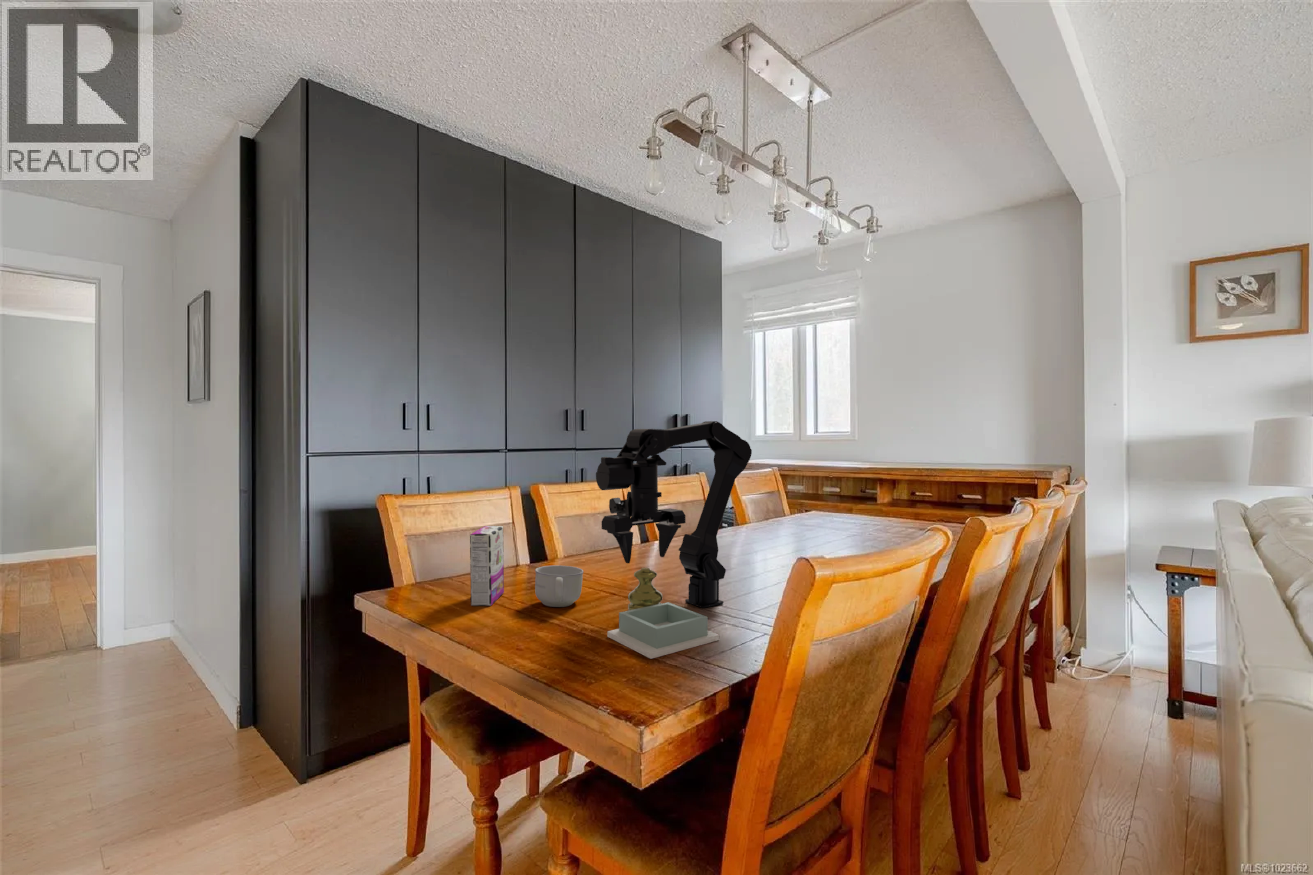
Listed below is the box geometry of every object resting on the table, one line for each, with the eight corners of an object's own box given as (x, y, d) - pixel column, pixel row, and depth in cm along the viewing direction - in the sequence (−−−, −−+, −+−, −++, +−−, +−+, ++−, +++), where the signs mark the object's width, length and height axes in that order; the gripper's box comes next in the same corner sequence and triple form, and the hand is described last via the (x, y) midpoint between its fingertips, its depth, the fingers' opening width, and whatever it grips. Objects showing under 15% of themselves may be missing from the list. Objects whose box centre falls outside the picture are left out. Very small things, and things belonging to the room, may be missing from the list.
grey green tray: (672, 621, 124) (672, 599, 124) (718, 640, 113) (719, 616, 113) (607, 636, 115) (607, 613, 115) (650, 658, 104) (650, 632, 104)
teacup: (540, 597, 142) (541, 563, 142) (586, 597, 142) (586, 563, 142) (526, 614, 128) (526, 577, 128) (576, 615, 128) (576, 578, 128)
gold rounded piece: (620, 614, 129) (621, 568, 129) (646, 607, 134) (647, 563, 134) (643, 622, 124) (643, 574, 123) (669, 615, 129) (669, 568, 128)
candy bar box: (483, 593, 145) (484, 525, 145) (504, 593, 145) (504, 525, 145) (468, 606, 134) (469, 533, 134) (491, 606, 134) (491, 533, 134)
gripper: (655, 482, 140) (656, 548, 141) (587, 487, 129) (588, 559, 129) (686, 485, 132) (687, 556, 132) (616, 491, 120) (617, 569, 120)
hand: (645, 560), depth 129 cm, fingers open, 9 cm apart
